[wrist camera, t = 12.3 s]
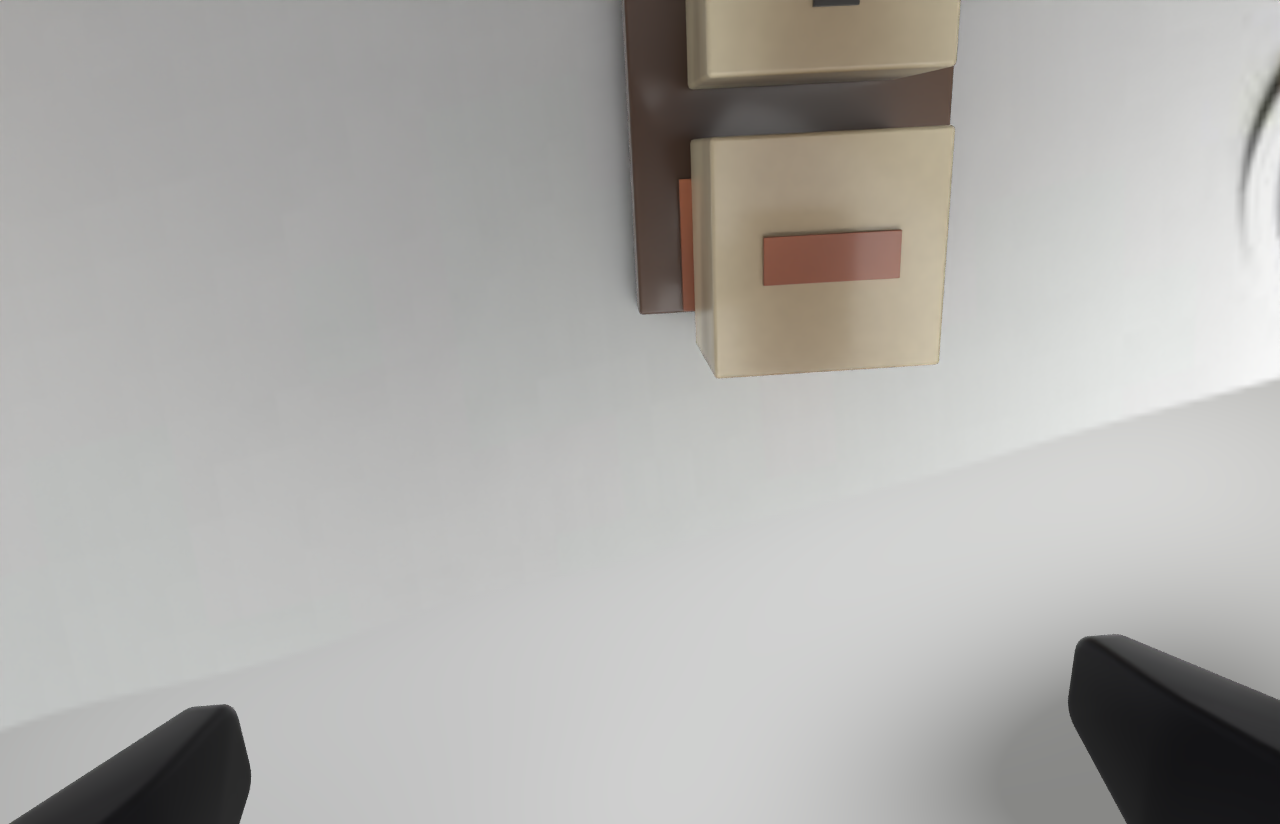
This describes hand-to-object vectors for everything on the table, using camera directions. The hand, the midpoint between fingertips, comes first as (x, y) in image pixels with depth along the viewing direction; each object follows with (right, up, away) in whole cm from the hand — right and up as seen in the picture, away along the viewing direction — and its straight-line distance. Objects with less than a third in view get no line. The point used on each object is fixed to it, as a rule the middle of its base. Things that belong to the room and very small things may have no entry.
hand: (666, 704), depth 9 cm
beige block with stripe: (+3, +7, +9) cm, 12 cm away
